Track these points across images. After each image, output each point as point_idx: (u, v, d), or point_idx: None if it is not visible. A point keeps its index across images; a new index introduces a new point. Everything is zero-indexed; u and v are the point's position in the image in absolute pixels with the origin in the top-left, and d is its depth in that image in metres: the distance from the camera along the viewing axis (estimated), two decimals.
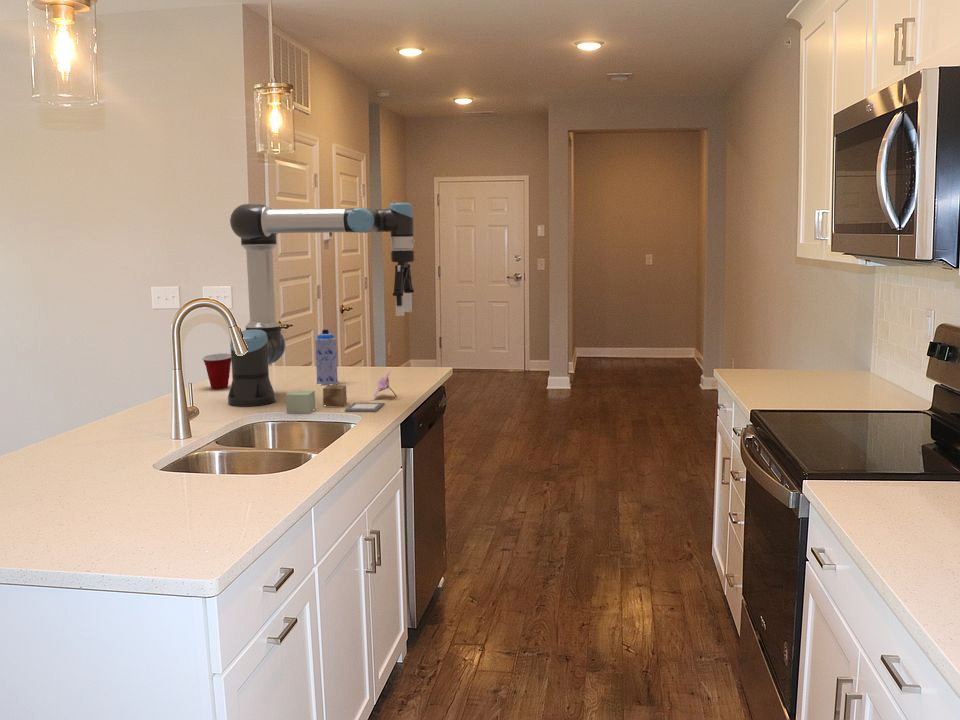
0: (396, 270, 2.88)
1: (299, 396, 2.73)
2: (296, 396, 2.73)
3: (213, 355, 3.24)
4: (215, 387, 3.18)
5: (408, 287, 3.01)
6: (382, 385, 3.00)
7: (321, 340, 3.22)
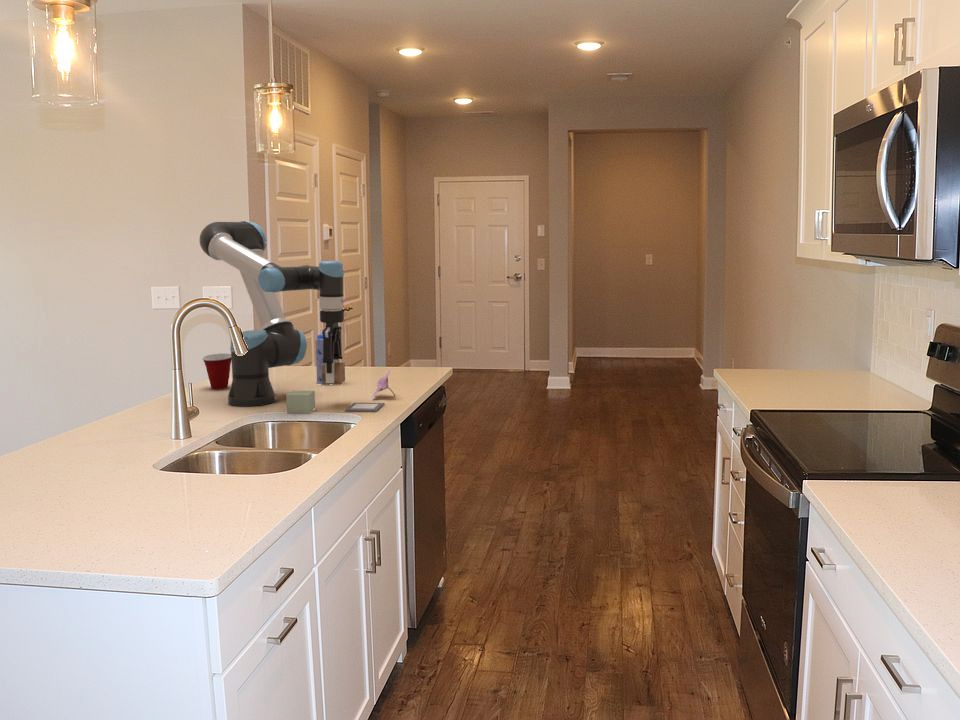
0: (324, 336, 2.78)
1: (299, 396, 2.73)
2: (296, 396, 2.73)
3: (213, 355, 3.24)
4: (215, 387, 3.18)
5: (336, 352, 2.88)
6: (381, 385, 3.00)
7: (321, 340, 3.22)
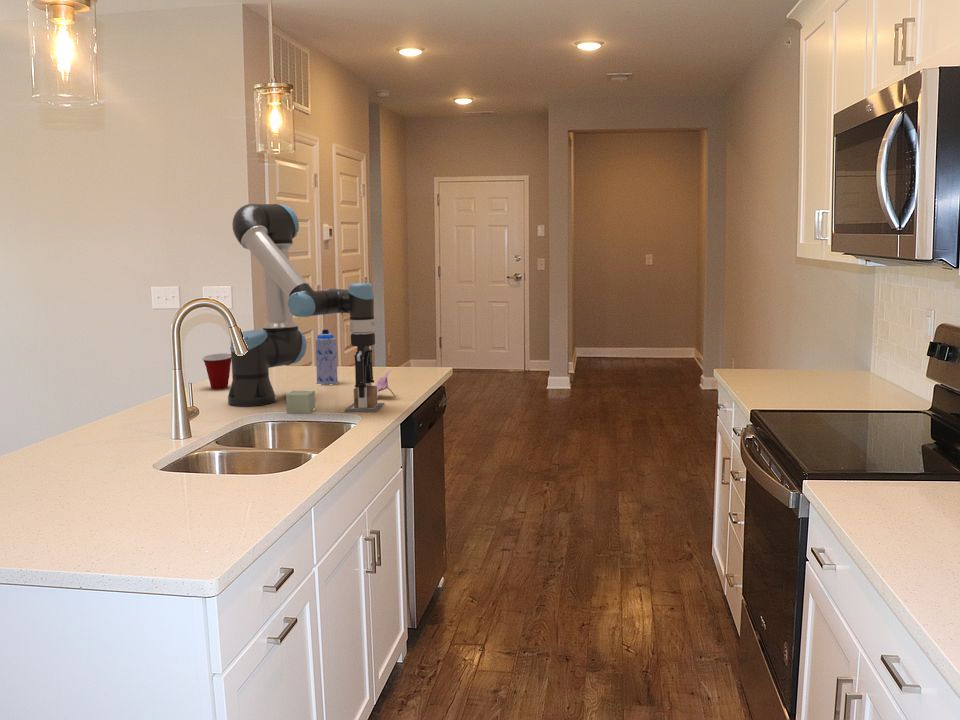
0: (356, 360, 2.72)
1: (299, 396, 2.73)
2: (296, 396, 2.73)
3: (213, 355, 3.24)
4: (215, 387, 3.18)
5: (368, 375, 2.82)
6: (381, 385, 3.00)
7: (321, 340, 3.22)
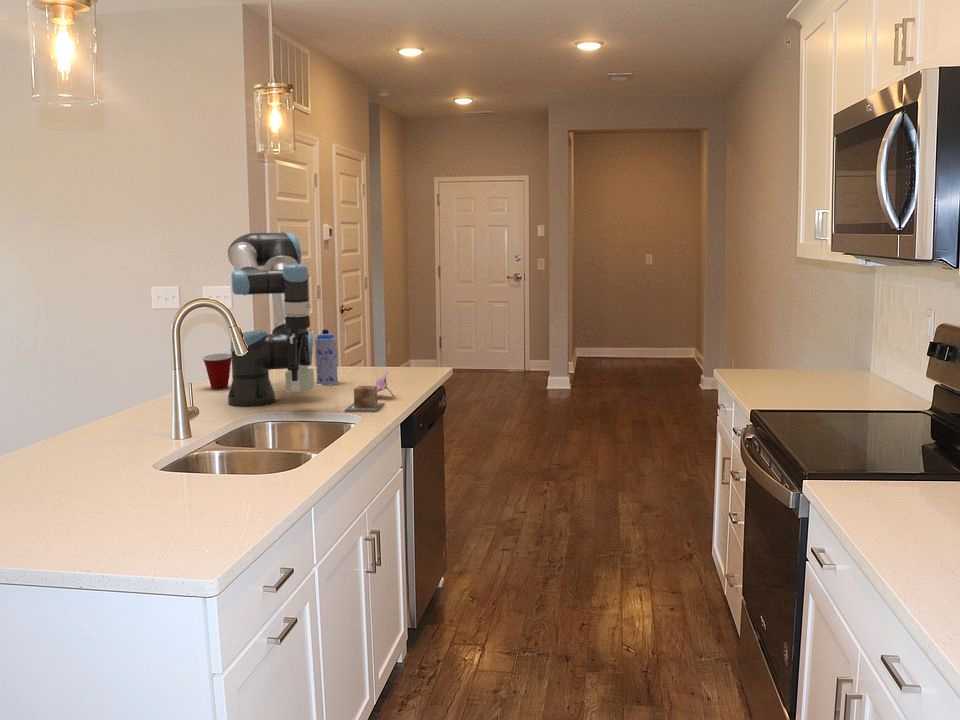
0: (289, 343, 2.68)
1: None
2: None
3: (213, 355, 3.24)
4: (215, 387, 3.18)
5: (304, 358, 2.79)
6: (380, 385, 3.00)
7: (321, 340, 3.22)
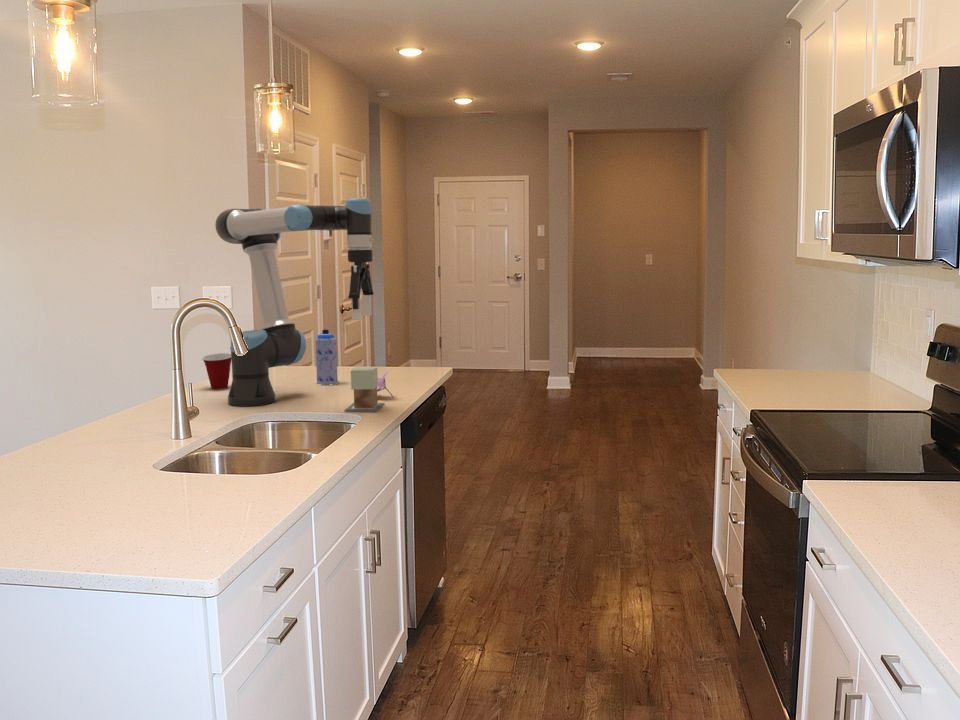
0: (352, 271, 2.68)
1: (364, 372, 2.76)
2: (361, 372, 2.76)
3: (213, 355, 3.23)
4: (215, 387, 3.18)
5: (367, 289, 2.81)
6: (378, 386, 2.99)
7: (321, 340, 3.22)
